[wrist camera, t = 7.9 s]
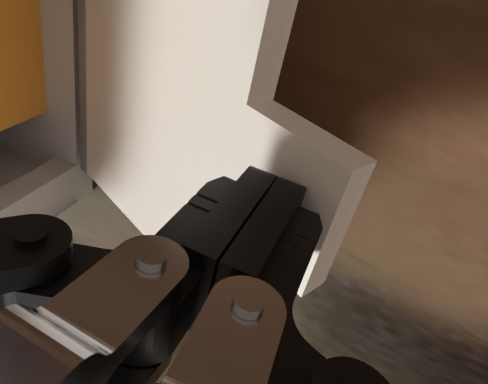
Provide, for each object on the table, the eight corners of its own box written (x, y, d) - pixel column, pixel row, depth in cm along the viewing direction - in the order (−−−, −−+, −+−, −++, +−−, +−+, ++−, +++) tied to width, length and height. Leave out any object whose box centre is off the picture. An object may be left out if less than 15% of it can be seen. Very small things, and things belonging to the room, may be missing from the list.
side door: (68, -116, 14) (422, -6, 7) (102, -109, 15) (451, -3, 8) (75, 163, 20) (268, 374, 13) (99, 158, 21) (293, 355, 14)
